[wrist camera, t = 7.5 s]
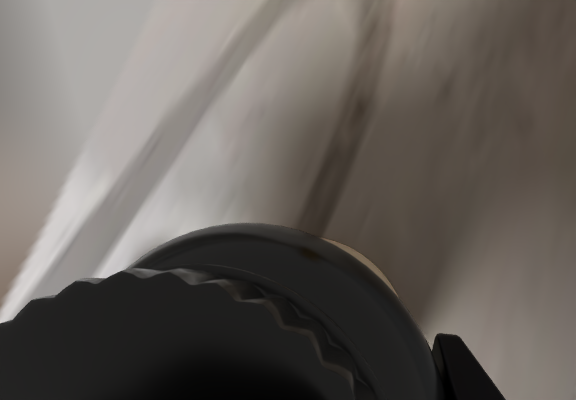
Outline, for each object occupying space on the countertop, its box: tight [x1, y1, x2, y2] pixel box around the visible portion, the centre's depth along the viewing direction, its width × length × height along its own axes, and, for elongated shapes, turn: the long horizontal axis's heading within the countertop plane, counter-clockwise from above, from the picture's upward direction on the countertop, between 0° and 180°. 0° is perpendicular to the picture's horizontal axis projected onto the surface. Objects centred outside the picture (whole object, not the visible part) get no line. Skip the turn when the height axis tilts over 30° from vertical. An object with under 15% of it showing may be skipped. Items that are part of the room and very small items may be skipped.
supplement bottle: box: [0, 223, 447, 400], centre depth 9 cm, size 7×7×12 cm
